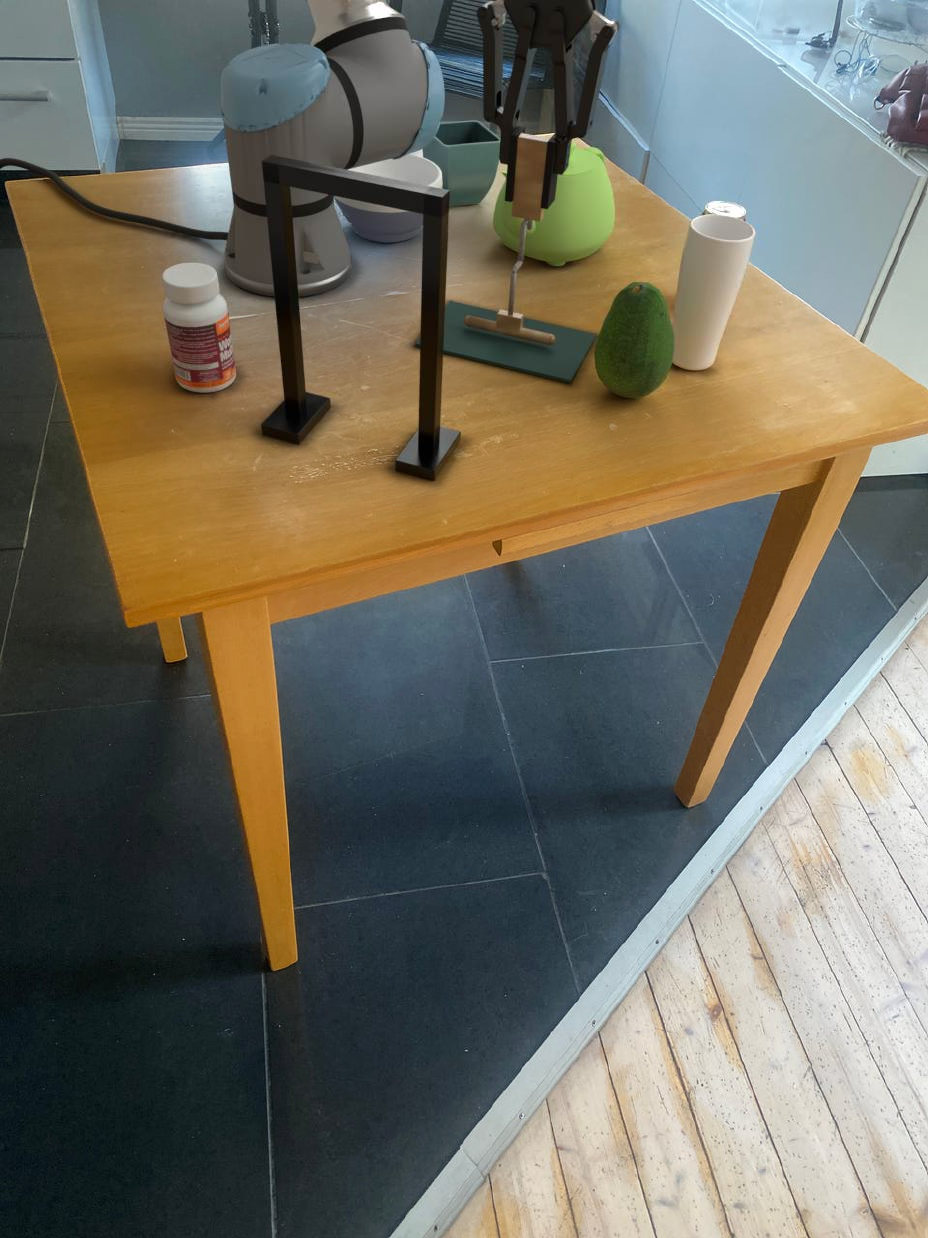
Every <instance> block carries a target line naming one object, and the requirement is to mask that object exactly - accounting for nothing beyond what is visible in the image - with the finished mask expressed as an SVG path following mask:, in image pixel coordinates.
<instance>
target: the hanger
mask: <svg viewBox="0 0 928 1238" xmlns="http://www.w3.org/2000/svg"><path fill="white" fill-rule="evenodd" d="M550 138H551V137H545V136H540V135H535V134H529V133H525V134H524V133H521V134H520V135H519V136H518V140H517V153H516V166H515V179H514V192H513V205H512V216H514V217H519V218H524V220H523V221H522V223H521V230H520V242H519V253H518V254H517V262H515V264H514V265H513V267H512V268H511V270H510V280H509V293H508V305H507V306H508V307H507V310H506V309H499V311H497V312H498V313H497V322H496V321H492V320H487V319H483V318H479V317H474V316H466V317H465V318H464V324H465V325H466V326H468V327H472V328H477V329H481V330H486V331H490V332H494V333H499V334H503V335H507V336H512V337H516V338H520V339H525V340H529V341H533V342H538V343H542V344H546V345H552V344H554V343H555V336H554V335H553V334H549V333H545V332H540V331H536V330H531V329H527V328H523V318H525V316H524V313H519V312H515V310H514V308H515V307H514V306H515V296H516V295H515V294H516V283H517V272H519V270H520V269H521V267H522V265H523V264H524V259H525V255H524V249H525V238H526V226H527V229H528V230H531V229H532V226H533V220H534V221H538V222H540V221H541V220H542V219H543V217H544V209H543V208H541V199H542V189H543V180H544V171H545V161H546V152H547V142H548V140H549V139H550Z"/></svg>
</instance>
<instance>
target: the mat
mask: <svg viewBox="0 0 928 1238" xmlns="http://www.w3.org/2000/svg"><path fill="white" fill-rule="evenodd" d="M498 312H499V311H497V310H492V309H488V308H484V307H479V306H475V305H471V304H466V303H462V302H457V301H453V300H450V301H449V302H448V303H447V304H446V305H445V321H444V345H443V354H446V355H449V356H454V357H458V358H462V359H467V360H471V361H475V362H480V363H482V364H483V363H484V364H488V365H492V366H496V367H500V368H504V369H508V370H513V371H517V372H521V373H525V374H530V375H533V376H537V377H542V378H547V379H551V380H554V381H559V382H564V383H567V384H571V383H572V382H573V380H574V378H575V376H576V374H577V373H578V371H579V370H580V369H579V368H580V367H581V366H582V364H583V361H584V360H585V358H586V357H587V354H588V353H589V351H590V349H591V347H592V345H593V343H594V342H595V340H596V339H597V336H598V334H597V333H595V332H590V331H586V330H580V329H577V328H572V327H568V326H564V325H559V324H554V323H550V322H545V321H541V320H537V319H533V318H528V317H524V318H523V328H527V329H531V330H536V331H540V332H545V333H549V334H553V335H554V336H555V343H554V344H552V345H546V344H542V343H538V342H533V341H529V340H525V339H520V338H516V337H512V336H507V335H503V334H499V333H494V332H490V331H486V330H481V329H477V328H472V327H468V326H466V325H465V324H464V318H465V317H466V316H474V317H479V318H483V319H487V320H492V321H496V322H497V313H498ZM414 346H415V347H416V348H420V337H419V338H418V339H417V341H415V343H414Z"/></svg>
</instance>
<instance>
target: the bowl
mask: <svg viewBox="0 0 928 1238" xmlns="http://www.w3.org/2000/svg"><path fill="white" fill-rule="evenodd" d="M348 170H351V171H356V172H361V173H366V174H371V175H376V176H381V177H386V178H391V179H396V180H401V181H406V182H411V183H416V184H421V185H426V186H431V187H436V188H441V189H442V184H443V183H442V172H441V170H440V168H439V167H438V166H437V165H436V164H435V163H434V162H432V161H430V160H428V159H426V158H423V156H421V155H417V154H414V153H410V154H407V155H406V156H403V157H402V158H400V159H395V160H393V159H388V160H384V161H380V162H375V163H372V164H368V165H364V166H360V167H356V168H352V169H348ZM334 202H335V203H336V205H337V206H338V208H339V209H340V210H341V213H342V216H343V217H344V218H345V219H346V221H347V222H348V223H349V224H350V225H351V227H352V229H353V231H354V232H355V234H356V235H358V236H359V237H361V238H363V239H366V240H368V241H371V242H378V243H383V244H385V243H387V244H388V243H399V242H404V241H407V240H409V239H412V238H414V237H416V236H417V234H418V233H419V232H420V230H421V228H422V227H423V214H420V213H415V212H410V211H405V210H401V209H396V208H391V207H386V206H381V205H376V204H372V203H367V202H362V201H357V200H352V199H347V198H343V197H338V196H334Z"/></svg>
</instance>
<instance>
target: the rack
mask: <svg viewBox="0 0 928 1238" xmlns="http://www.w3.org/2000/svg"><path fill="white" fill-rule="evenodd" d="M262 171H263V181H264V190H265V201H266V212H267V222H268V233H269V243H270V254H271V264H272V275H273V286H274V296H273V297H274V306H275V315H276V326H277V336H278V349H279V359H280V369H281V378H282V379H281V381H282V391H283V398H284V399H283V400H282V402H281V403H280V404H279V405H278V406H277V407H276V408H275V409H274V410H273V411H272V412H271V413H270V414H269V415H268V416H267V417H266V419H265V420H264V421H262V423H261V424H260V429H261V436H265V437H268V438H269V437H270V438H273V439H276V440H280V441H284V442H287V443H291V444H296V445H301V443H302V442H303V441H304V440H305V438H306V437H307V436H308V435H309V434H310V433H311V432H312V430H313V429H314V428H315V427H316V426H317V425H318V424H319V422H320V421H321V420H322V419H323V418H324V417H325V416H326V415H327V413H329V411H330V410H331V408H332V405H331V397H328V396H324V395H320V394H317V393H312V392H308V391H306V378H305V365H304V351H303V337H302V325H301V311H300V297H299V296H298V283H297V269H296V256H295V243H294V229H293V216H292V203H291V190H290V187H294V188H299V189H304V190H309V191H313V192H318V193H323V194H328V195H333V196H338V197H343V198H347V199H352V200H357V201H362V202H367V203H372V204H376V205H381V206H386V207H391V208H396V209H401V210H405V211H410V212H415V213H420V214H423V225H422V245H421V247H422V252H421V292H420V293H421V294H420V297H421V298H420V335H419V338H420V347H419V381H418V383H419V385H418V386H419V389H418V428H417V430H416V431H415V432H414V434H413V435H412V437H411V438H410V439H409V440H408V442H407V443H406V445H405V446H404V447H403V448H402V451H400V453H399V455H398V456H397V457H396V458H395V460H394V469H395V470H394V471H396V472H399V473H403V474H407V475H410V476H414V477H417V478H418V477H419V478H422V479H425V480H429V481H433V482H435V481H436V479H437V478H438V476H439V475H440V474H441V472H442V470H443V469H444V467H445V466H446V464H447V463H448V461H449V459H450V458H451V456H452V455H453V453H454V452H455V450H456V449H457V447H458V446H459V445H460V443H461V440H462V439H461V436H462V432H461V431H460V430H457V429H452V428H448V427H444V426H441V416H442V415H441V413H442V393H443V369H444V353H443V345H444V321H445V307H446V296H447V294H446V293H447V272H448V271H447V270H448V269H447V268H448V247H449V225H450V224H449V222H450V221H449V220H450V206H449V200H450V190H446V189H441V188H436V187H431V186H426V185H421V184H416V183H411V182H406V181H401V180H396V179H391V178H386V177H381V176H376V175H371V174H366V173H361V172H356V171H351V170H346V169H341V168H336V167H331V166H326V165H320V164H315V163H310V162H305V161H300V160H295V159H290V158H285V157H280V156H275V155H270V156H268V157H267V158H265V159H264V160H262Z"/></svg>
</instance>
